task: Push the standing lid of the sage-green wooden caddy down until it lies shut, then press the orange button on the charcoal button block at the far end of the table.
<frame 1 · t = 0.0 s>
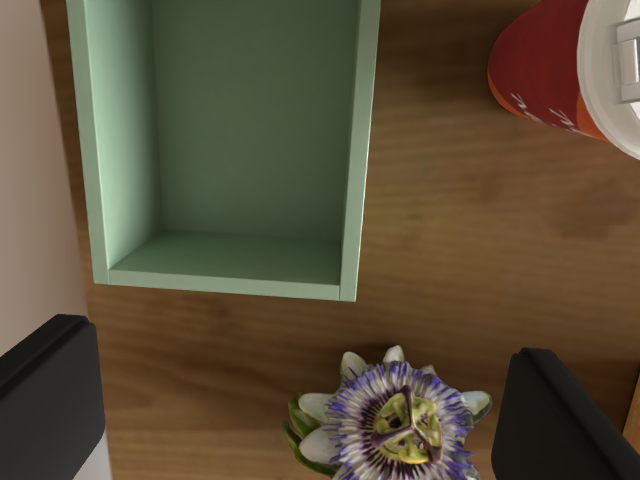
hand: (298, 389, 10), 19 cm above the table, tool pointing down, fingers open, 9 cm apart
passion flower: (378, 401, 33), on the table
paper cup: (537, 65, 26), on the table
caddy: (255, 117, 27), on the table
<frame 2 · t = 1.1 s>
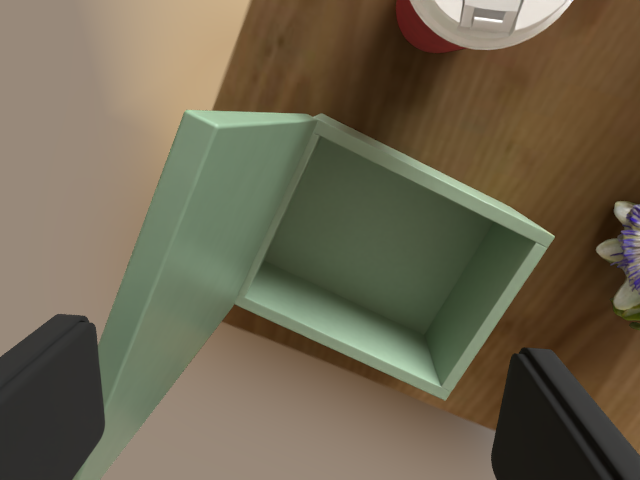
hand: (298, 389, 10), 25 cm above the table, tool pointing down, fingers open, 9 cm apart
paper cup: (437, 7, 31), on the table
caddy: (377, 235, 35), on the table
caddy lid: (220, 258, 19), point 16 cm above the table, hinge at 94.0°
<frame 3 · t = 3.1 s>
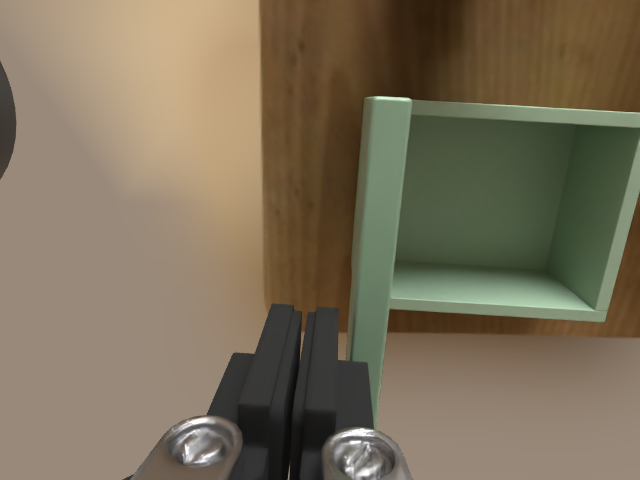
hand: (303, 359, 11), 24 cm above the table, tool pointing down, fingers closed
caddy: (461, 191, 34), on the table
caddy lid: (364, 258, 19), point 16 cm above the table, hinge at 93.5°, touching gripper
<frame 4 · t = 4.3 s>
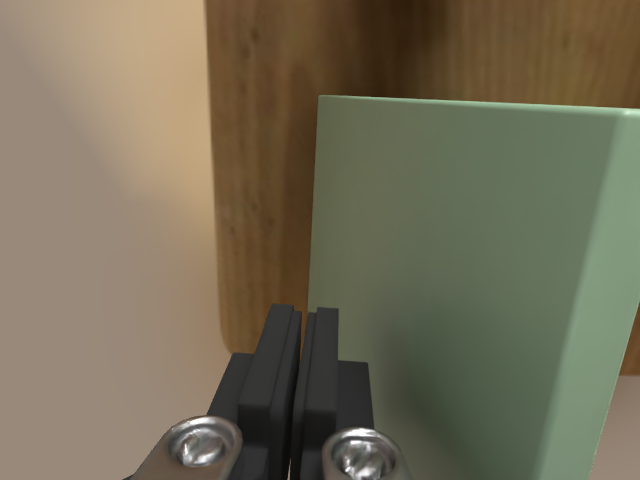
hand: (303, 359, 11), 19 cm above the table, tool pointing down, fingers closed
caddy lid: (366, 317, 14), point 16 cm above the table, hinge at 77.8°, touching gripper
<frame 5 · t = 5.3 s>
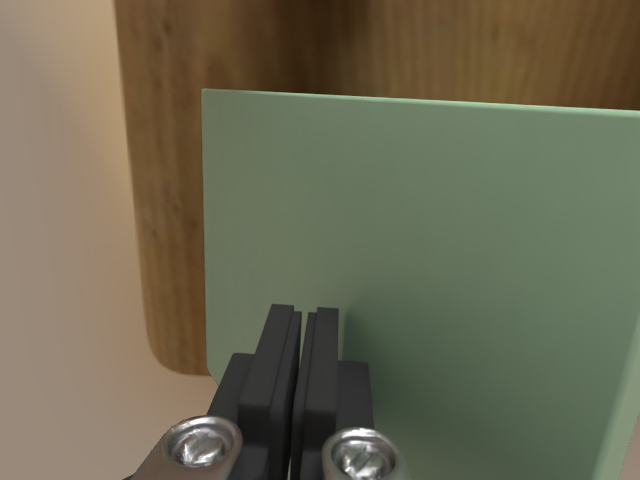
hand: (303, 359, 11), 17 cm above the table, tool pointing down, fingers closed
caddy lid: (308, 320, 13), point 15 cm above the table, hinge at 55.6°, touching gripper
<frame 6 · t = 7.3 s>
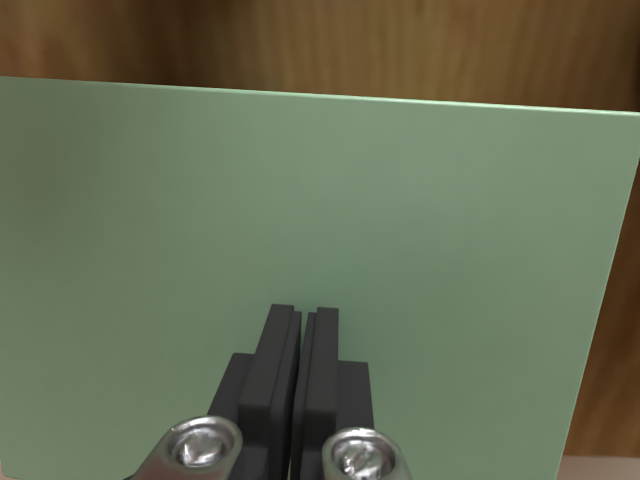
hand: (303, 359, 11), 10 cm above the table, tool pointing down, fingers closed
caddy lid: (242, 337, 12), point 10 cm above the table, hinge at 9.1°, touching gripper
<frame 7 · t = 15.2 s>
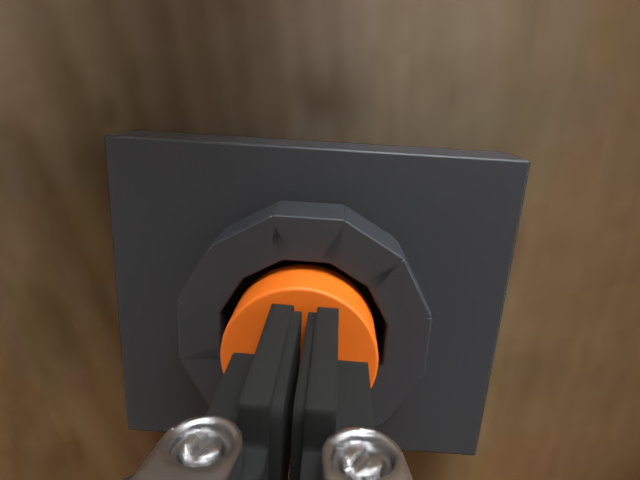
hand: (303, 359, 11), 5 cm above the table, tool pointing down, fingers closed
button block: (310, 283, 16), on the table
button: (301, 344, 12), point 4 cm above the table, slide at -0.1 cm, touching gripper
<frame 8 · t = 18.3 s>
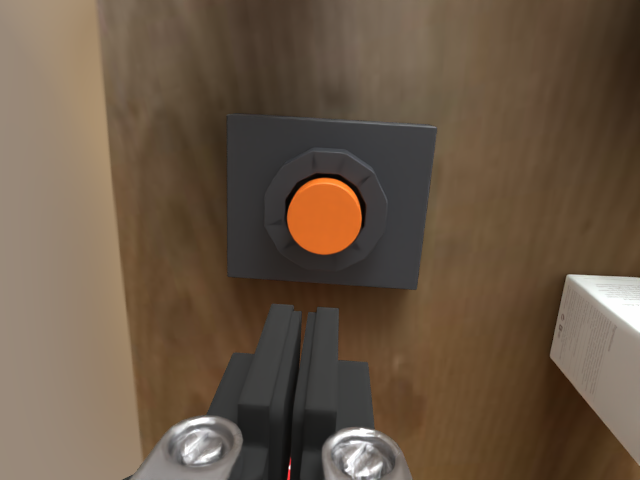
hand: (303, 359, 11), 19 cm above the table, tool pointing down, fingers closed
button block: (327, 198, 30), on the table
small box: (614, 317, 31), on the table
button: (324, 215, 25), point 4 cm above the table, slide at 0.1 cm
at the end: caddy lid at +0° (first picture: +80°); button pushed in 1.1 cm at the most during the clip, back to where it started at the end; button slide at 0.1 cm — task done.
